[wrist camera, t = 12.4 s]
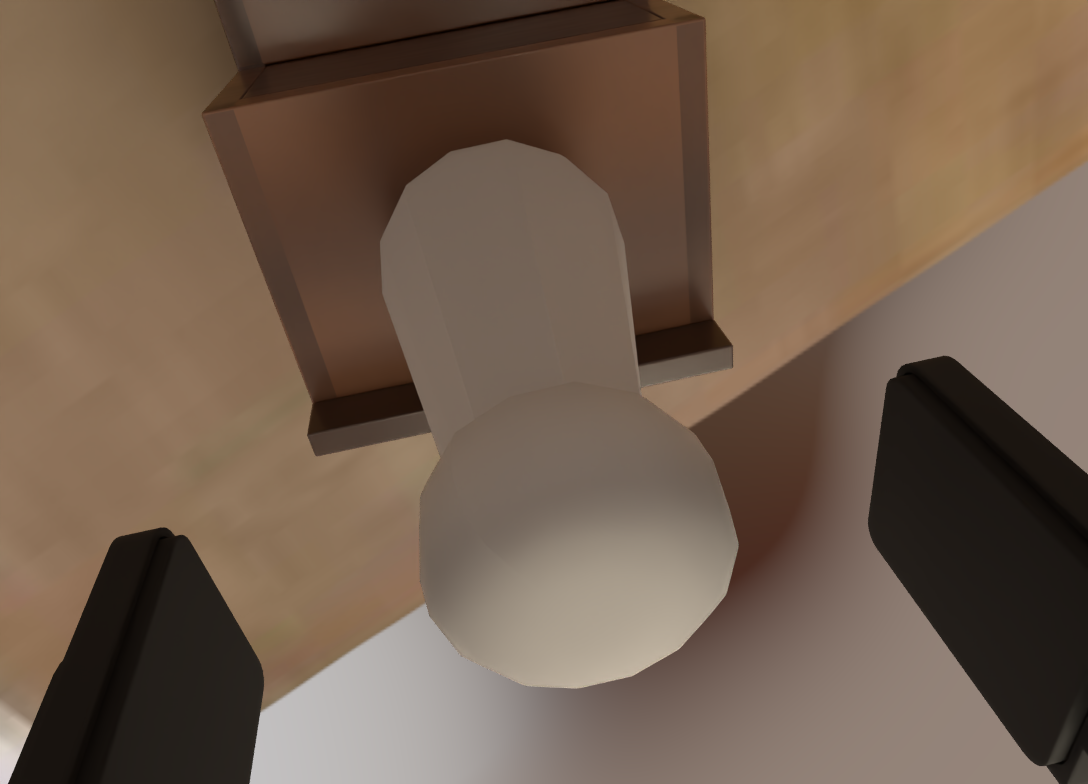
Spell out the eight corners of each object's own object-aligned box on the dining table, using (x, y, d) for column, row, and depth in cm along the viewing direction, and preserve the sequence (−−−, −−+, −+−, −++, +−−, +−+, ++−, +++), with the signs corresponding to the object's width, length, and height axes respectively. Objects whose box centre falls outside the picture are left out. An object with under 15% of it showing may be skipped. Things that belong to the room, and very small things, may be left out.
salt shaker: (588, 96, 19) (837, 371, 8) (613, 302, 22) (815, 696, 11) (352, 144, 19) (285, 492, 8) (411, 346, 22) (422, 791, 11)
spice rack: (170, -224, 21) (9, -303, 13) (594, -296, 22) (725, -419, 13) (340, 293, 30) (315, 457, 21) (638, 232, 31) (733, 368, 22)
